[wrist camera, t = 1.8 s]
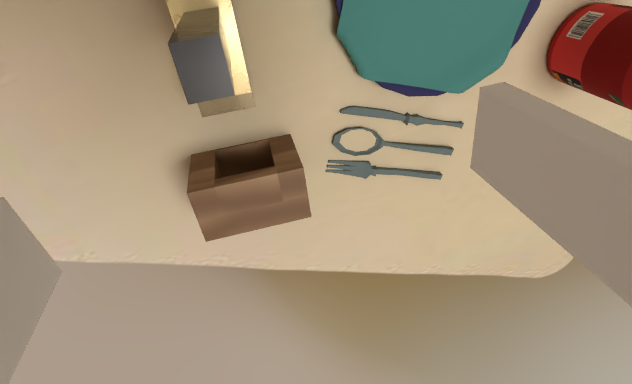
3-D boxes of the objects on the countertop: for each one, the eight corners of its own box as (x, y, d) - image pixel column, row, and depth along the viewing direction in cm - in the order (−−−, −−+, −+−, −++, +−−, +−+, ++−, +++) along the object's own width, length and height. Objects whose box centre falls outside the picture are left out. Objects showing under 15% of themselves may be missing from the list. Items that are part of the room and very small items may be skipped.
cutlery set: (584, -127, 30) (608, -131, 29) (446, 178, 46) (455, 188, 44) (365, -214, 25) (376, -226, 23) (292, 167, 41) (296, 178, 39)
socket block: (191, 154, 36) (186, 193, 30) (290, 134, 37) (303, 167, 32) (207, 199, 39) (206, 241, 34) (298, 178, 40) (311, 216, 35)
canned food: (535, 84, 41) (625, 123, 32) (558, 4, 36) (671, 23, 27) (594, 76, 42) (697, 111, 33) (624, -2, 37) (752, 14, 28)
